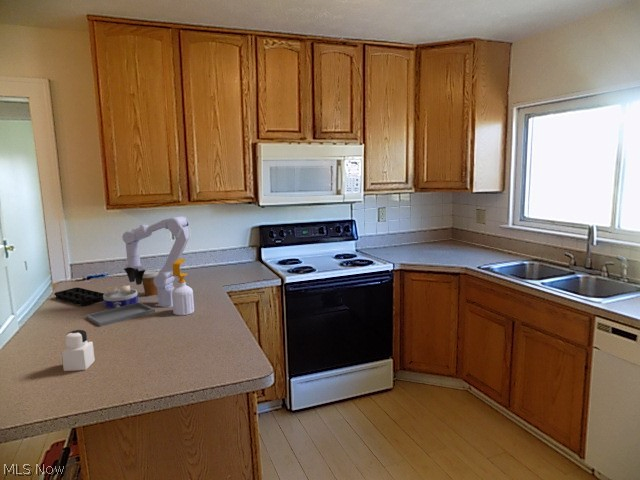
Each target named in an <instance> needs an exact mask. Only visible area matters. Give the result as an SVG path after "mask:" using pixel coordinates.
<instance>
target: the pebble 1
mask: <svg viewBox="0 0 640 480" xmlns="http://www.w3.org/2000/svg"><path fill="white" fill-rule="evenodd" d="M106 290H107V292H108V294H109V295H113V294H117V293H118V290H119V289H118V286H117V285H111V286H108V287H107V289H106Z"/></svg>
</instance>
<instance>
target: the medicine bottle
mask: <svg viewBox="0 0 640 480" xmlns="http://www.w3.org/2000/svg"><path fill="white" fill-rule="evenodd" d="M64 336H65V345H66V346H65V348H63V349H62V350H61V361H62V367H63V371H64V372H71V371H72V372H73V371H77V372H78V371H86V370H87V369H88V368H89V367H90V366H91V365H92V364H93V363H94V362H95V359H96V358H95V350H94V343H93V341H88V335H87V331H85V330H83V329H75V330H72V331H69V332H67V333H66V334H65V335H64Z"/></svg>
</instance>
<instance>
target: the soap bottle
mask: <svg viewBox="0 0 640 480" xmlns="http://www.w3.org/2000/svg"><path fill="white" fill-rule="evenodd" d="M185 262H186V259H184V258H180V259H178V260H177V261H175V262H174V263H173V265H172V268H173V275H174V276H175V277H177V278H178V281H177V286H176V287H174V288H175V289H174V290H173V291H172V301H173V306H172V312H173V314H174V315H177V316H188V315H190V314H193V313H194V312H195V302H194V290H193V288H192V287H190V286H189V285H187V283H186V280H185V279H184V278H185V277H186V276H188V273H183V272H181V265H182V264H183V263H185Z"/></svg>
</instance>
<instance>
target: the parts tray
mask: <svg viewBox="0 0 640 480" xmlns="http://www.w3.org/2000/svg"><path fill="white" fill-rule="evenodd" d="M154 313H156V308H154V307H151V306H149V305H147V304H145V303H142V302H140V301H138V303H134V304H130V305H126V306H121V307H117V308H108V309H106V310H100V311H96V312H93V313H88V314H86V315H85V316H86V317H85V318H86V319H87V320H89V321H90V322H91V323H93V324H95V325H96V326H98V327H104V326H107V325H112V324H115V323H119V322H124V321H127V320H130V319H135V318H138V317H142V316H147V315H150V314H154Z"/></svg>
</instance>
